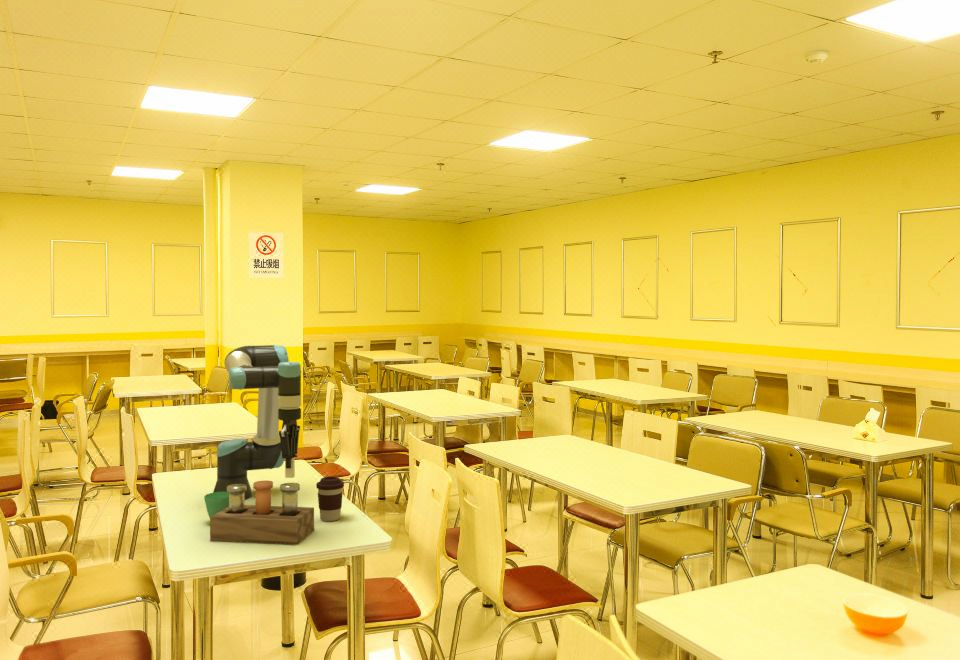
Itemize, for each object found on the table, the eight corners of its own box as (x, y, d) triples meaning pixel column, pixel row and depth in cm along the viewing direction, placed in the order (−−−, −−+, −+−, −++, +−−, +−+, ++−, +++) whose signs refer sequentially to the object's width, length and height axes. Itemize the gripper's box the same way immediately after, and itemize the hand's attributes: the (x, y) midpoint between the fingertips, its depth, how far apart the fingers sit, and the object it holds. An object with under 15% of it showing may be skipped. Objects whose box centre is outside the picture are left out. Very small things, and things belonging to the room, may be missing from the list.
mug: (214, 528, 254) (214, 500, 253) (198, 523, 259) (198, 495, 259) (250, 518, 265) (250, 491, 265) (234, 514, 271) (234, 487, 271)
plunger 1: (232, 513, 250) (232, 483, 250) (249, 514, 250) (249, 484, 249) (223, 519, 244) (223, 488, 244) (241, 519, 243) (241, 488, 243)
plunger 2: (284, 512, 248) (284, 482, 248) (302, 513, 247) (302, 482, 247) (277, 518, 242) (277, 486, 241) (295, 519, 241) (295, 487, 240)
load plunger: (258, 510, 249) (258, 480, 249) (276, 511, 248) (276, 480, 248) (250, 515, 243) (250, 484, 243) (268, 516, 242) (268, 485, 242)
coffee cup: (330, 524, 259) (330, 482, 258) (310, 520, 264) (310, 479, 264) (349, 517, 267) (349, 477, 267) (329, 513, 272) (329, 474, 272)
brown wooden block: (232, 526, 256) (232, 504, 255) (314, 530, 252) (314, 507, 252) (210, 540, 240) (210, 517, 240) (296, 545, 236) (296, 520, 236)
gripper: (286, 405, 250) (286, 472, 251) (270, 410, 237) (271, 481, 238) (307, 405, 249) (307, 473, 250) (292, 410, 236) (293, 482, 237)
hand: (289, 477), depth 244 cm, fingers closed
